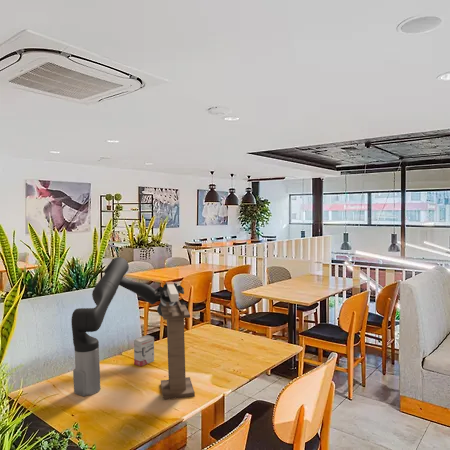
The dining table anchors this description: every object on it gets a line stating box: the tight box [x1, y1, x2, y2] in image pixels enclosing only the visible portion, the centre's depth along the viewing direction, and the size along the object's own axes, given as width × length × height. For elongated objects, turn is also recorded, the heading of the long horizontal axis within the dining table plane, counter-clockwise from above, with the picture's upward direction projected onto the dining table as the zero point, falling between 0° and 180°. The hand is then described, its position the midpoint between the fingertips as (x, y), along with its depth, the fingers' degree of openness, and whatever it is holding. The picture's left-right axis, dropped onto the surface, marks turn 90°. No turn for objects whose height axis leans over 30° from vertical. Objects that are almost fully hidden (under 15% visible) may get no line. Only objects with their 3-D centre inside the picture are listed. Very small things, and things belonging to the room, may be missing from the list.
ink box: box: [133, 334, 155, 367], centre depth 184 cm, size 9×5×12 cm, turn 143°
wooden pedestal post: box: [160, 300, 196, 401], centre depth 155 cm, size 16×12×34 cm
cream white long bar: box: [165, 281, 180, 303], centre depth 165 cm, size 24×3×3 cm, turn 13°
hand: (170, 285), depth 171 cm, fingers closed on cream white long bar, 3 cm apart
